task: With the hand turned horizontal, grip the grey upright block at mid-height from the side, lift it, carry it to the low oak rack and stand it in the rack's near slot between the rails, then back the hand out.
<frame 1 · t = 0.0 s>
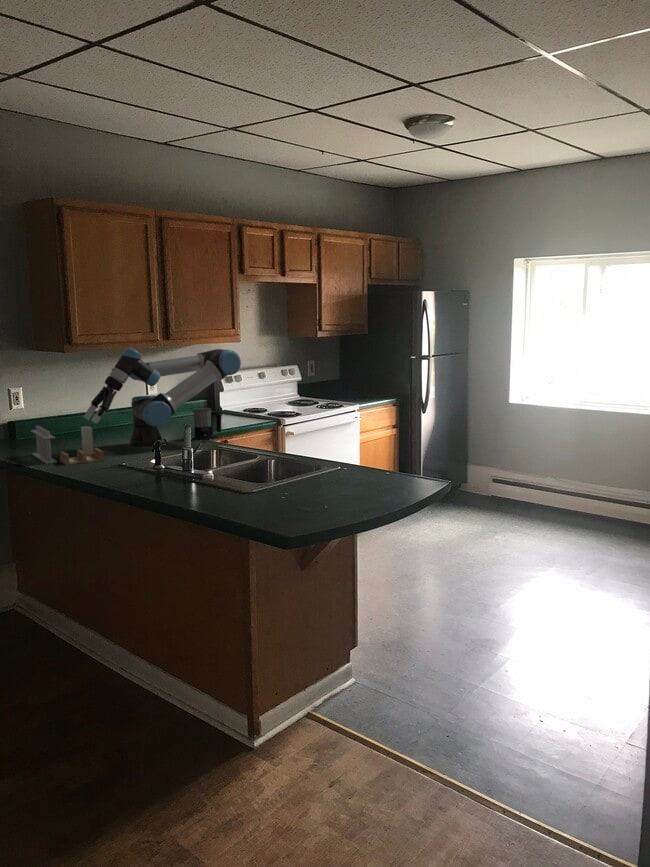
hand: (89, 420, 315), 15 cm above the counter, tool tilted 35°, fingers open, 13 cm apart
test tube rack: (44, 459, 310), on the counter
milk frother: (204, 437, 363), on the counter
grey upright block: (88, 454, 319), on the counter
oak rack: (81, 460, 304), on the counter
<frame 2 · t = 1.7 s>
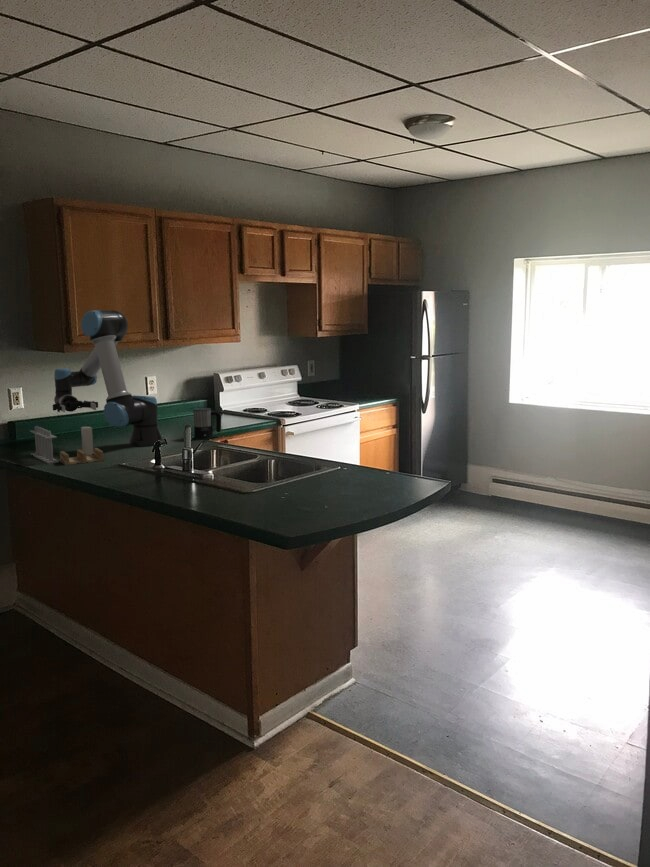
hand: (80, 408, 324), 20 cm above the counter, tool horizontal, fingers open, 13 cm apart
nothing on the counter moved.
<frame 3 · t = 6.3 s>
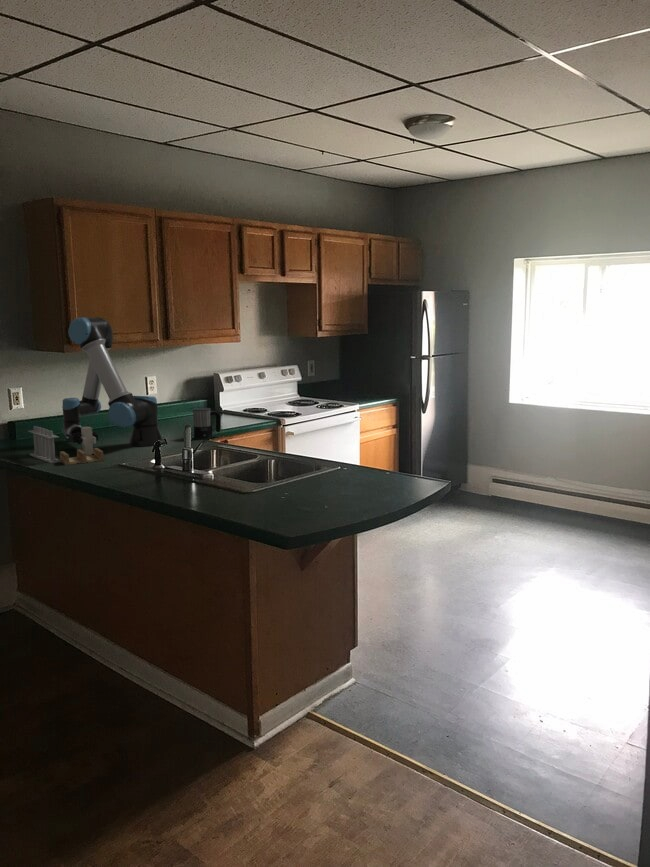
hand: (90, 441, 314), 7 cm above the counter, tool horizontal, fingers closed on grey upright block, 3 cm apart
grey upright block: (88, 454, 319), on the counter, touching gripper
everything else where it was.
when the fingers open (9 cm above the counter, at t = 10.8 s): grey upright block drops 2 cm, resting on oak rack.
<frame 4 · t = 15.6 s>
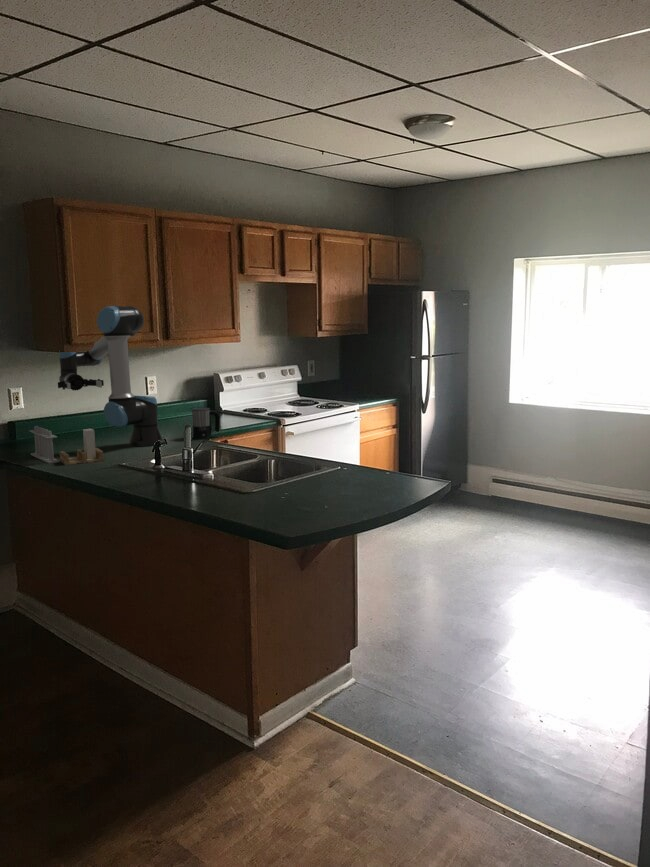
hand: (85, 385, 320), 30 cm above the counter, tool horizontal, fingers open, 13 cm apart
grey upright block: (90, 457, 306), point 1 cm above the counter, touching oak rack
at the end: grey upright block 0.0 cm from the target spot on the oak rack, point 1.0 cm above the oak rack's base; grey upright block tilted 0°; the gripper is holding nothing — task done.
